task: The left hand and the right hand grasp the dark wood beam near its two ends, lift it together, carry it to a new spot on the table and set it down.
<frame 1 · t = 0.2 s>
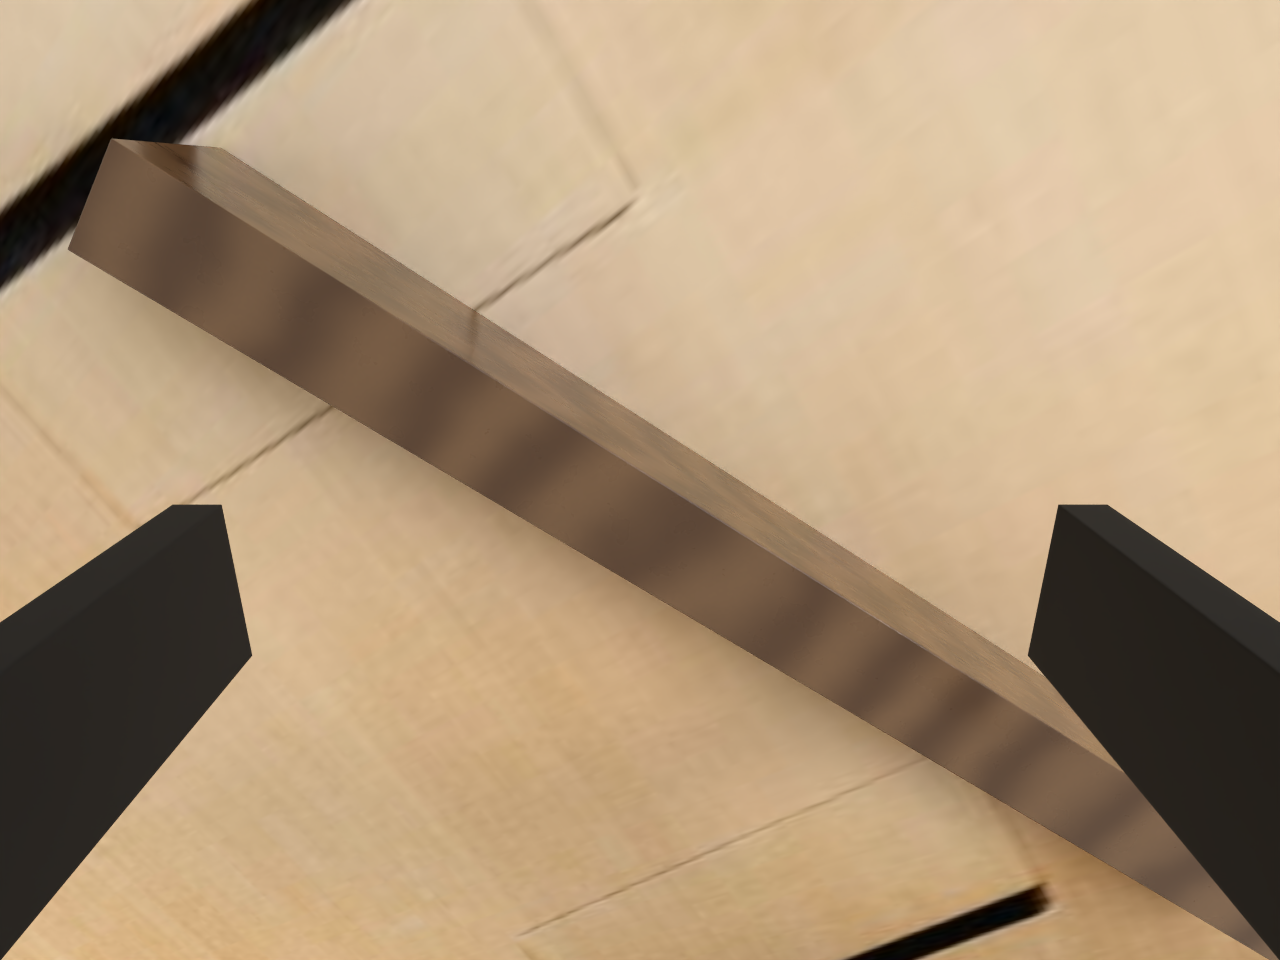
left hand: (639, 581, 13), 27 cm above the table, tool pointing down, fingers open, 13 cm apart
beam: (818, 580, 43), on the table
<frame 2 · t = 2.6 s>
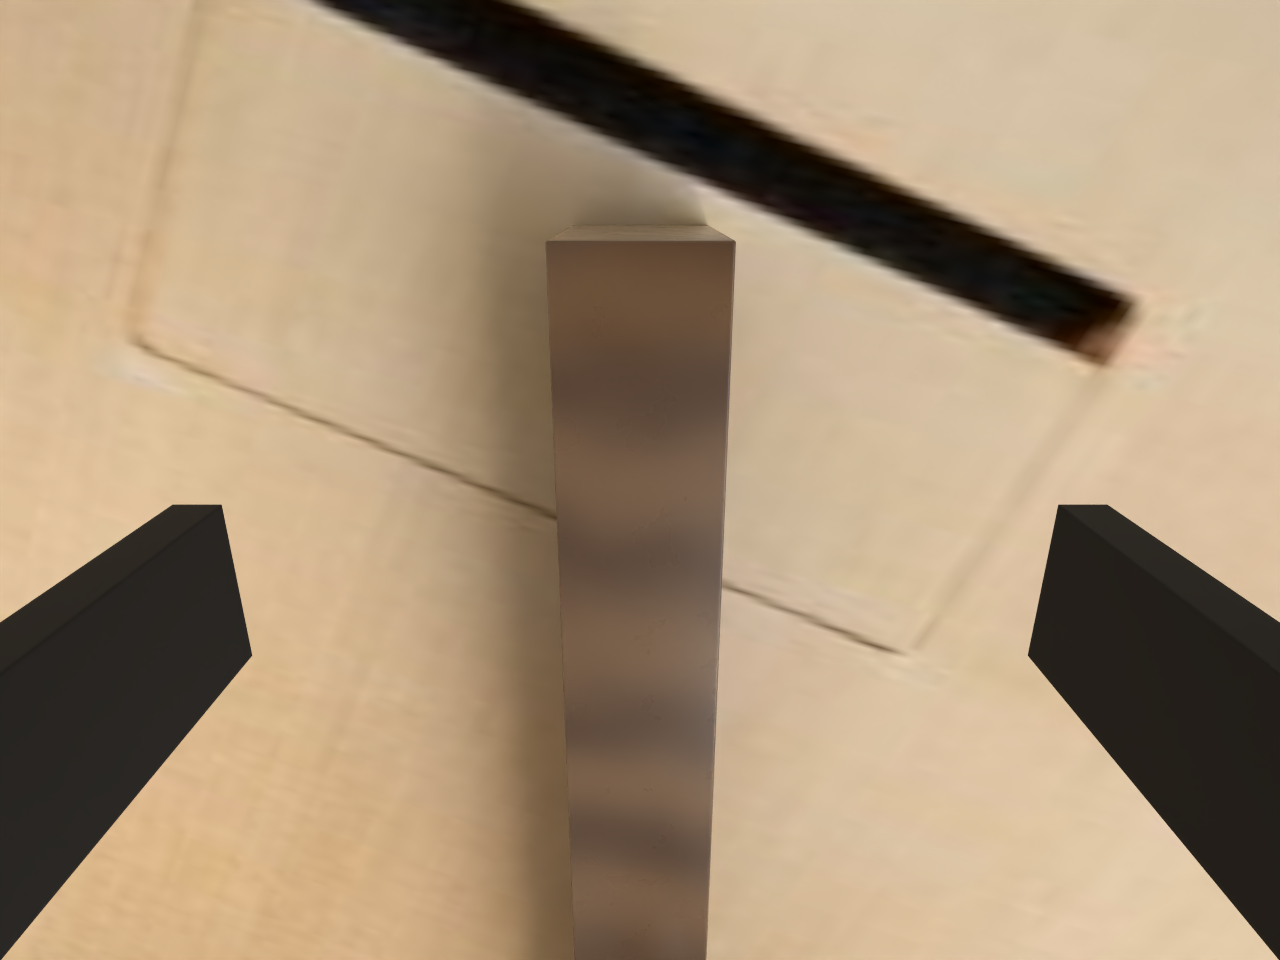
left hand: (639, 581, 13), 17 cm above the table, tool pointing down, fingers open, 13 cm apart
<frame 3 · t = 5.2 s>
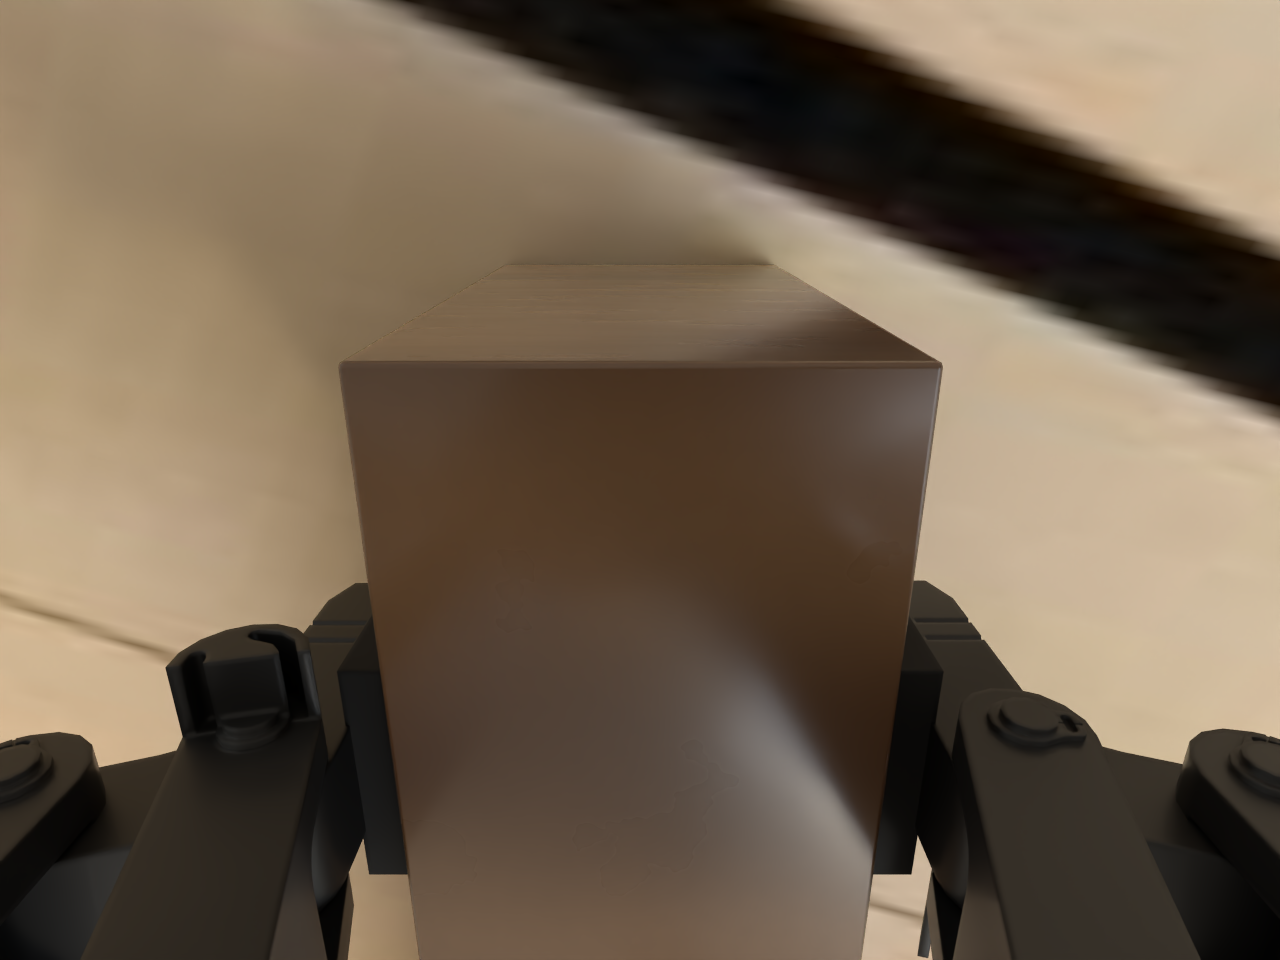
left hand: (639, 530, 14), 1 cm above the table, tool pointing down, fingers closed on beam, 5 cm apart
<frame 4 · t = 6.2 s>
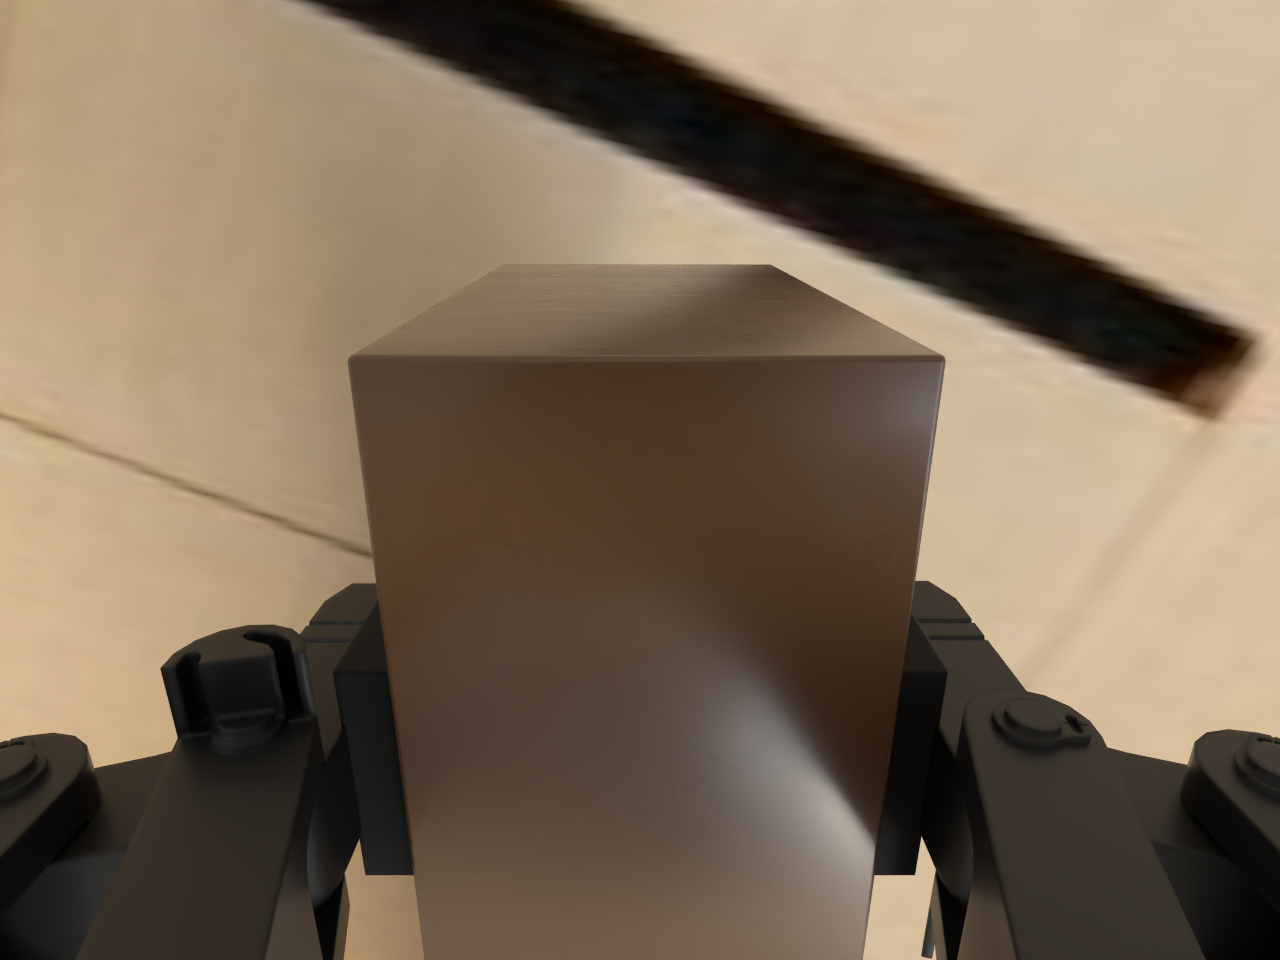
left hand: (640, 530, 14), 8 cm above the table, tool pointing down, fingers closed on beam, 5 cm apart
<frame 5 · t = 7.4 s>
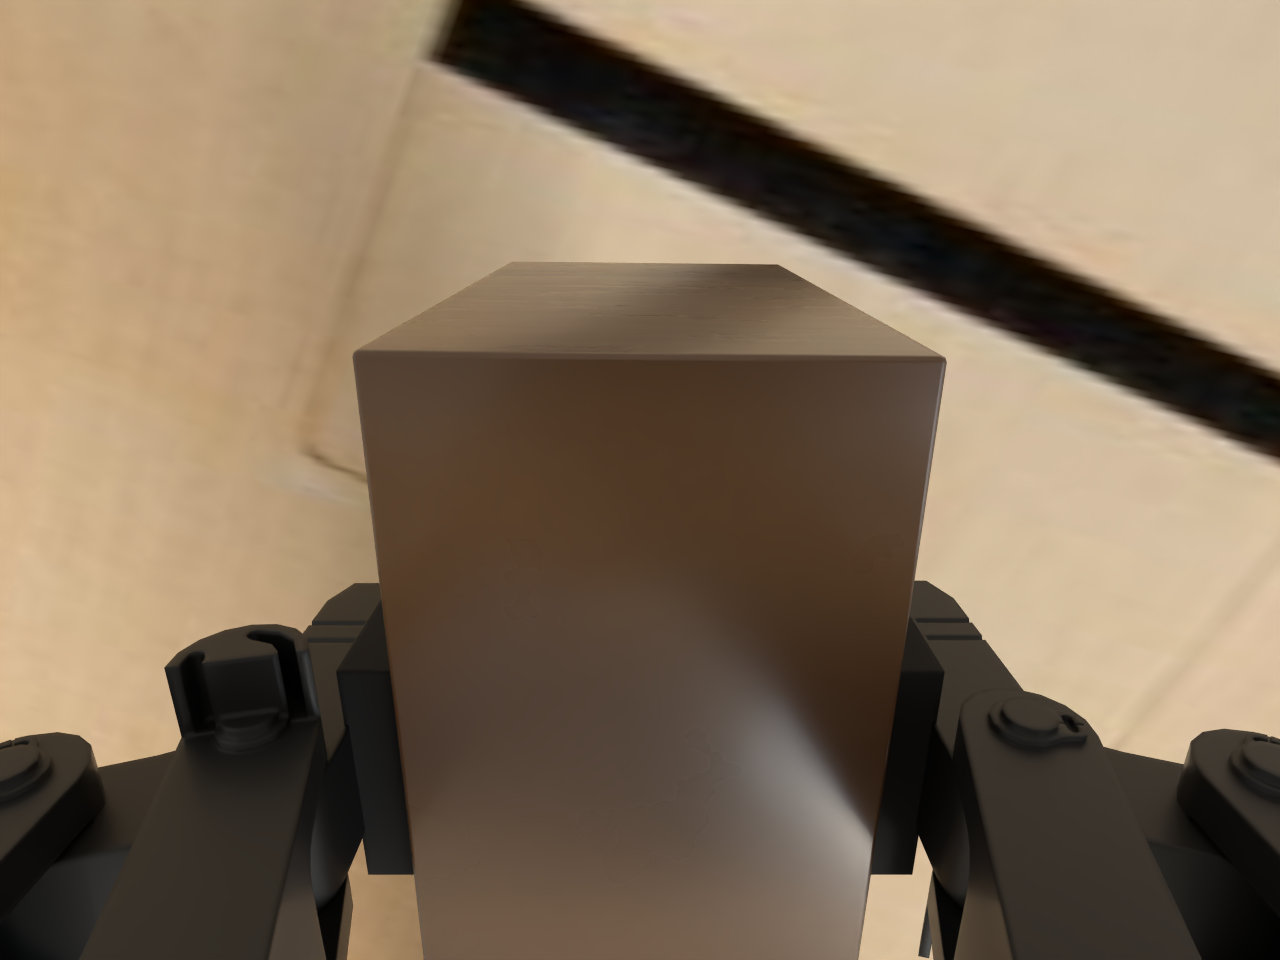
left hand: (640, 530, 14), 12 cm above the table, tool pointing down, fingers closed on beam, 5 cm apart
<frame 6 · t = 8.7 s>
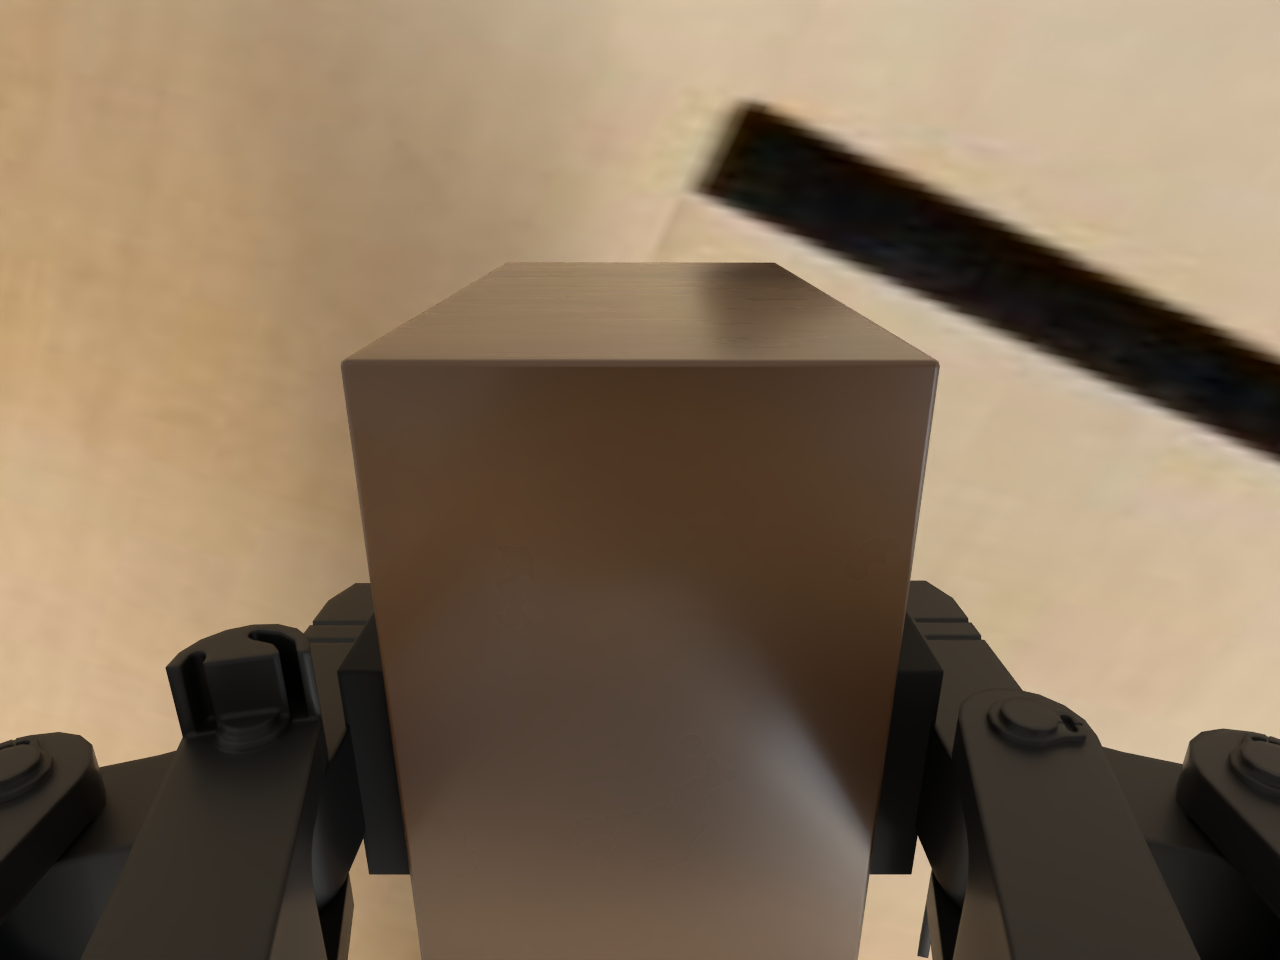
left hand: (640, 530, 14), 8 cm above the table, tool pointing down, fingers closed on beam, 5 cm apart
when the left hand's fingers open (2 cm above the table, at t = 9.7 s): beam drops 2 cm, on the table.
when the right hand's fingers open (5 cm above the table, at t = 9.9 s): beam stays where it is, on the table.
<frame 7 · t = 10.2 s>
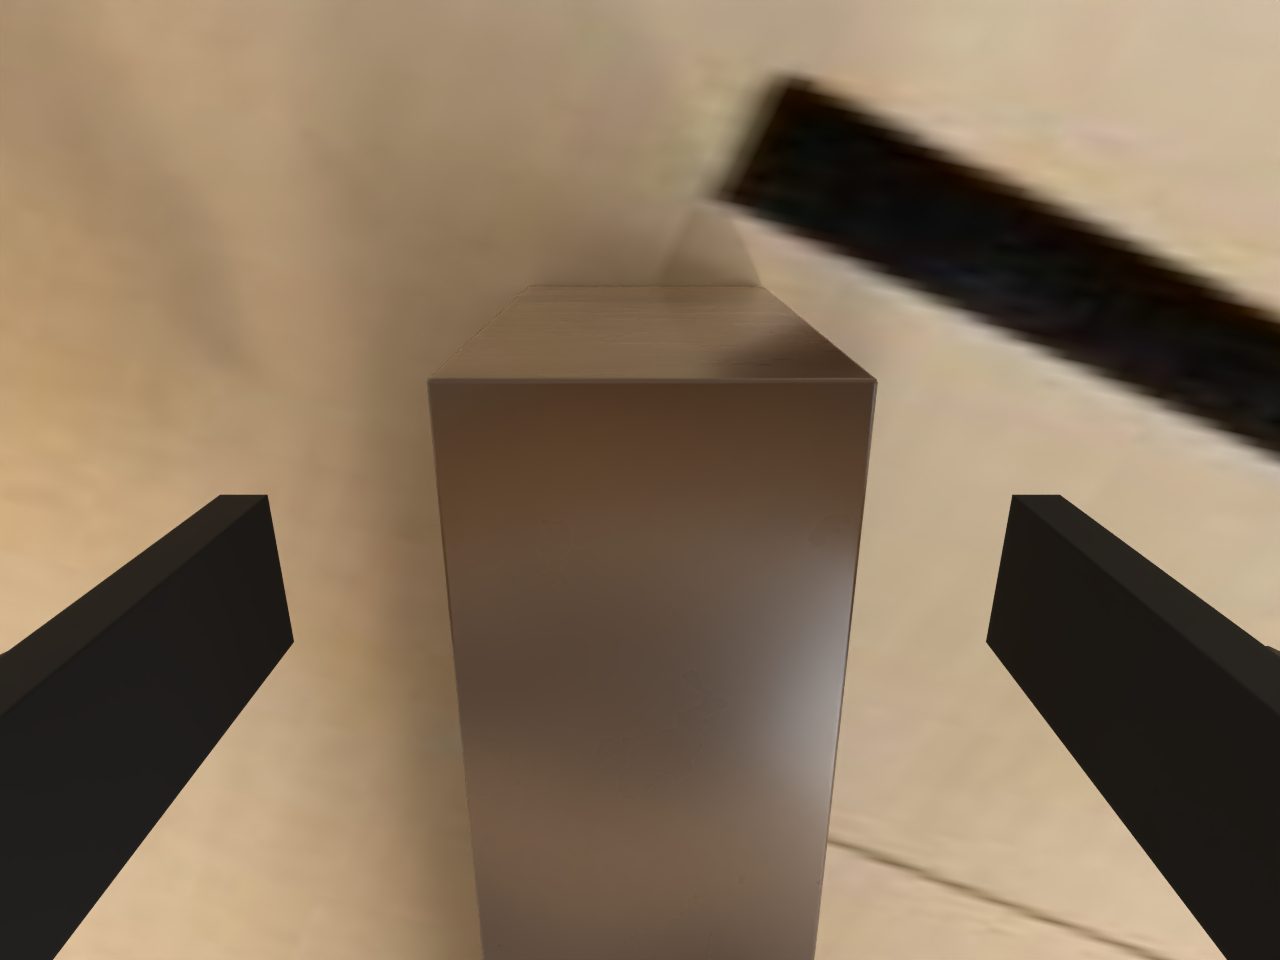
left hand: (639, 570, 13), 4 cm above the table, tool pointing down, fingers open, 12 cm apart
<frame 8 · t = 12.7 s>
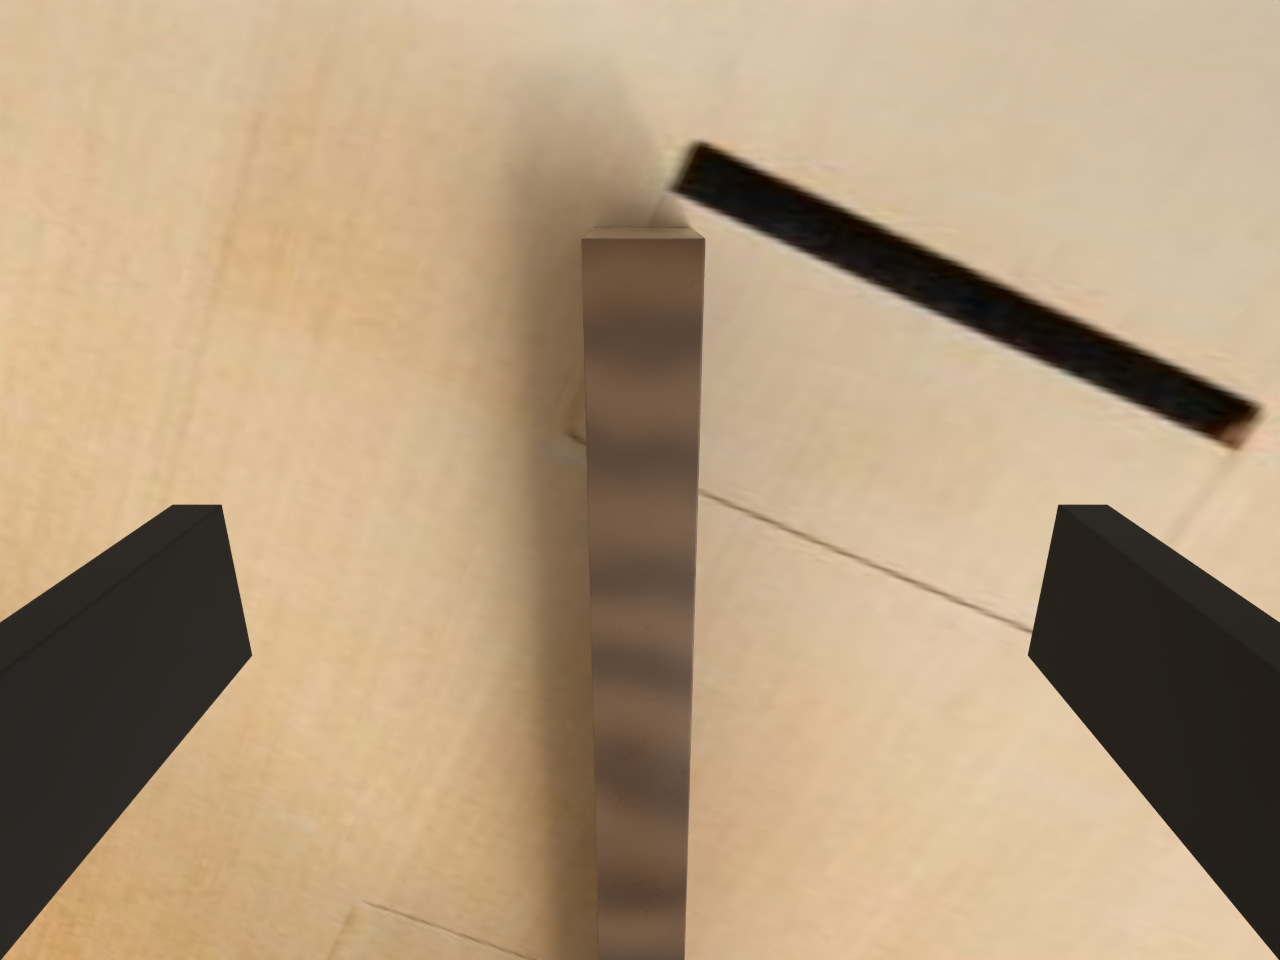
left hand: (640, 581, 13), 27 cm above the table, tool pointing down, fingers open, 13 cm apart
beam: (641, 830, 50), on the table
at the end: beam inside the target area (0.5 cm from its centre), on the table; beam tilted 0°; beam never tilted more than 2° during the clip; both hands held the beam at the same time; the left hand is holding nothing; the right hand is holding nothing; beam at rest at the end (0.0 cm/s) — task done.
